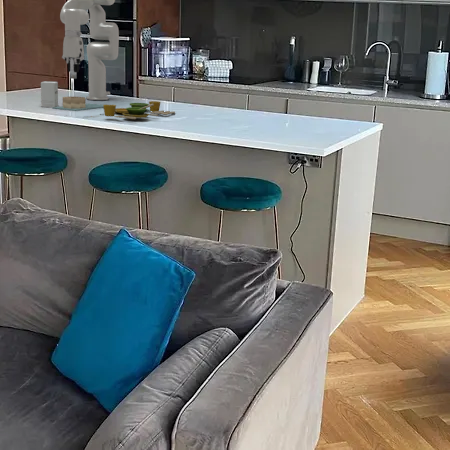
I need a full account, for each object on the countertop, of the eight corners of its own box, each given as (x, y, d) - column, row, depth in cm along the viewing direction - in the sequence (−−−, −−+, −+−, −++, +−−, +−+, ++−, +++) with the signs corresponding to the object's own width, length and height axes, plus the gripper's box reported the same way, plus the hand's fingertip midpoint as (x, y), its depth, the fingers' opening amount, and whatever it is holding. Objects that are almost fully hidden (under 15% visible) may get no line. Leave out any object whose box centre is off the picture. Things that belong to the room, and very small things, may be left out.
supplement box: (55, 107, 378) (54, 82, 375) (40, 107, 378) (40, 82, 375) (58, 106, 385) (58, 81, 382) (44, 105, 385) (43, 81, 382)
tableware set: (134, 120, 343) (134, 106, 342) (86, 115, 355) (86, 102, 354) (179, 112, 379) (179, 100, 377) (134, 108, 391) (134, 96, 389)
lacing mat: (88, 104, 398) (88, 103, 398) (111, 106, 392) (111, 105, 392) (52, 108, 372) (52, 107, 372) (76, 110, 366) (76, 109, 366)
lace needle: (72, 78, 374) (72, 54, 371) (78, 78, 372) (77, 54, 370) (68, 78, 371) (68, 54, 368) (73, 78, 370) (73, 54, 367)
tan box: (72, 105, 383) (72, 96, 382) (89, 107, 378) (89, 97, 377) (58, 107, 373) (58, 97, 372) (75, 109, 369) (75, 99, 367)
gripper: (90, 35, 366) (90, 72, 371) (64, 34, 373) (65, 71, 378) (81, 34, 360) (81, 73, 364) (54, 33, 367) (55, 71, 371)
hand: (73, 71), depth 371 cm, fingers closed on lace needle, 3 cm apart
